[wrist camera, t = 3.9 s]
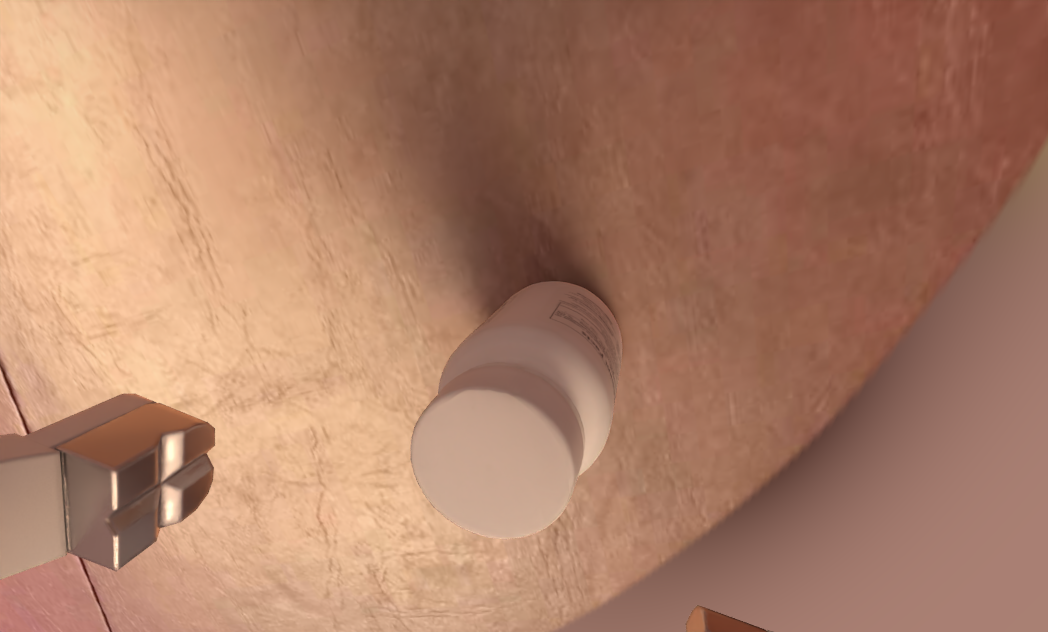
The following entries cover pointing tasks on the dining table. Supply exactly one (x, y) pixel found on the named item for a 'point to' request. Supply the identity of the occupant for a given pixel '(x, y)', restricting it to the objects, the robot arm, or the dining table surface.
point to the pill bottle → (520, 412)
